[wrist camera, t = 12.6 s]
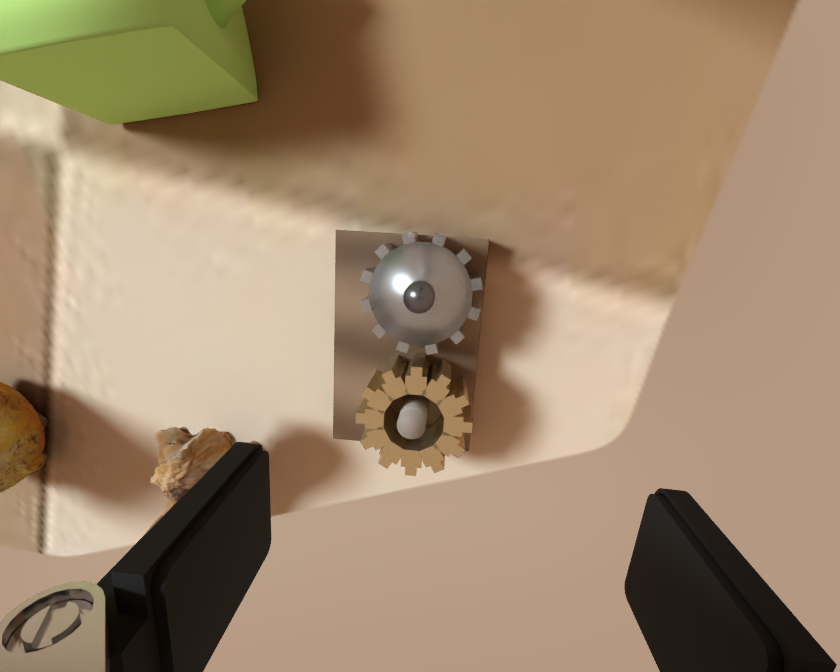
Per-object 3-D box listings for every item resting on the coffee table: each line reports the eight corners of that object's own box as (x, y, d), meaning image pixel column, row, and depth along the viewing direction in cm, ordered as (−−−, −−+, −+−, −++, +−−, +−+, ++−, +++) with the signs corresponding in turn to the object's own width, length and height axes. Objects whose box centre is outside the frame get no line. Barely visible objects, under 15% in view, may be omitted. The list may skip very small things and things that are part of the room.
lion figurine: (217, 383, 33) (132, 436, 24) (280, 410, 33) (217, 473, 24) (169, 527, 36) (80, 619, 27) (226, 551, 36) (154, 650, 27)
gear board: (343, 230, 29) (316, 228, 23) (486, 239, 28) (495, 239, 23) (340, 426, 33) (316, 467, 27) (467, 437, 32) (470, 482, 26)
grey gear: (357, 245, 27) (341, 246, 23) (468, 221, 26) (472, 218, 22) (382, 351, 29) (370, 370, 25) (487, 332, 28) (494, 348, 24)
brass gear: (368, 347, 29) (356, 362, 25) (474, 355, 28) (477, 371, 25) (365, 444, 31) (354, 470, 27) (465, 453, 30) (467, 480, 27)
